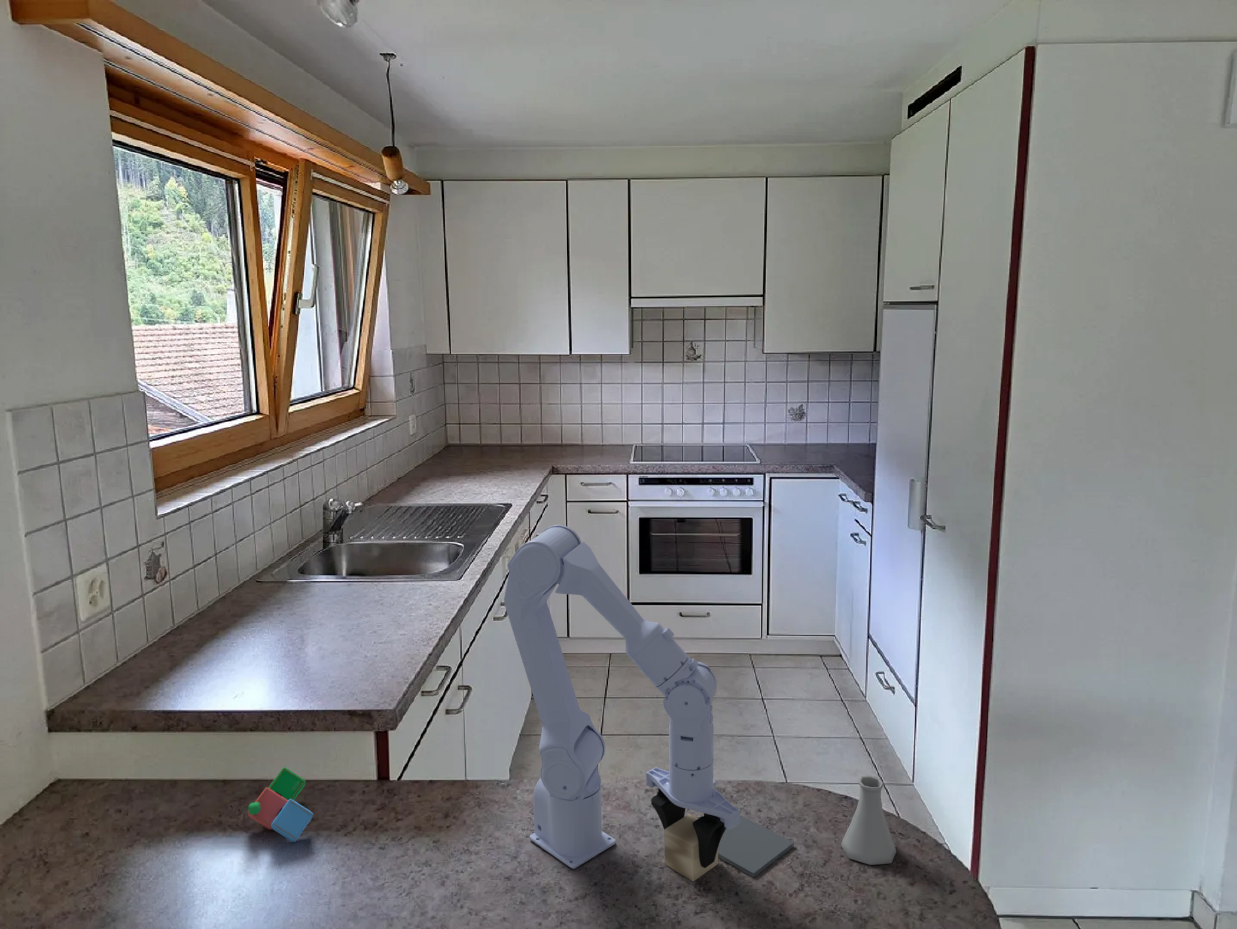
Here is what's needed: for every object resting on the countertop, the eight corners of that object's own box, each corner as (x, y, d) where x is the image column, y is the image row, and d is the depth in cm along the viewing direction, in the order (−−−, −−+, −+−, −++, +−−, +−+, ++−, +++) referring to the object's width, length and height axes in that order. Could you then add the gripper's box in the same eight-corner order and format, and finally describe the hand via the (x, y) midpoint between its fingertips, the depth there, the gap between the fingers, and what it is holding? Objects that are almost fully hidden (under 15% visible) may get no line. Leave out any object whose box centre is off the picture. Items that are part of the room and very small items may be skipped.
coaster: (700, 847, 114) (700, 843, 114) (740, 819, 120) (740, 815, 120) (753, 877, 108) (753, 873, 107) (793, 846, 114) (793, 842, 114)
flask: (899, 870, 109) (902, 799, 107) (842, 863, 110) (844, 794, 108) (893, 836, 116) (896, 770, 114) (839, 831, 117) (841, 765, 115)
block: (664, 864, 111) (664, 829, 110) (689, 847, 114) (689, 813, 113) (693, 881, 107) (693, 846, 106) (718, 863, 110) (718, 829, 110)
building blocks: (292, 847, 123) (295, 841, 113) (245, 817, 123) (244, 808, 113) (326, 798, 128) (332, 788, 118) (281, 769, 127) (283, 756, 117)
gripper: (755, 767, 106) (754, 865, 108) (670, 729, 116) (671, 818, 118) (720, 790, 101) (719, 891, 103) (634, 747, 111) (636, 840, 113)
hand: (691, 854), depth 110 cm, fingers closed on block, 5 cm apart
